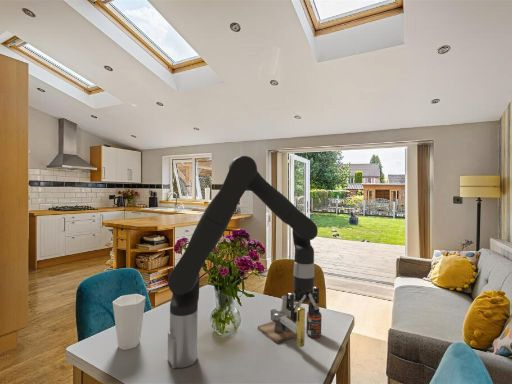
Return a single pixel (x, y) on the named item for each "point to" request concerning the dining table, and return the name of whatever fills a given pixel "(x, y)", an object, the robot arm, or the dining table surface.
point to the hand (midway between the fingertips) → (302, 318)
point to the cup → (128, 320)
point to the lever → (292, 323)
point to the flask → (283, 306)
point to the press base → (274, 335)
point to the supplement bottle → (314, 324)
